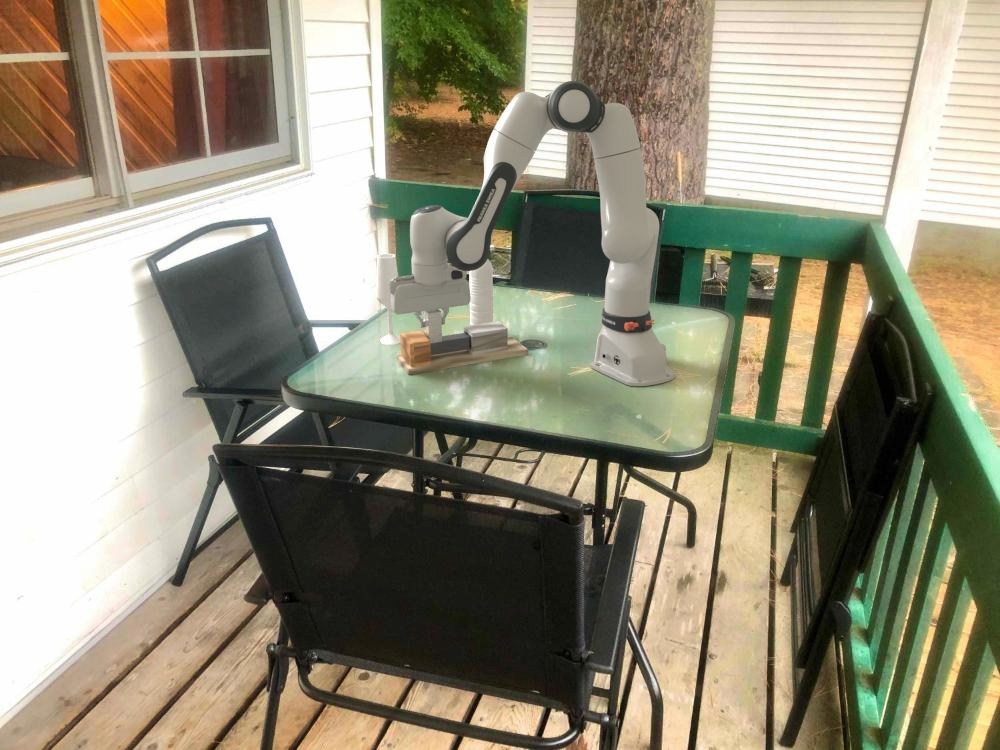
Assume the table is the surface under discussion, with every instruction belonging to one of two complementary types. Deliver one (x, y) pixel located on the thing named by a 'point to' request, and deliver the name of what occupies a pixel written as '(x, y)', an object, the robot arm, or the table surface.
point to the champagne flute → (386, 291)
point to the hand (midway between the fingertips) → (432, 325)
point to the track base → (485, 346)
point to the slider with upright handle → (440, 342)
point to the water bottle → (481, 293)
